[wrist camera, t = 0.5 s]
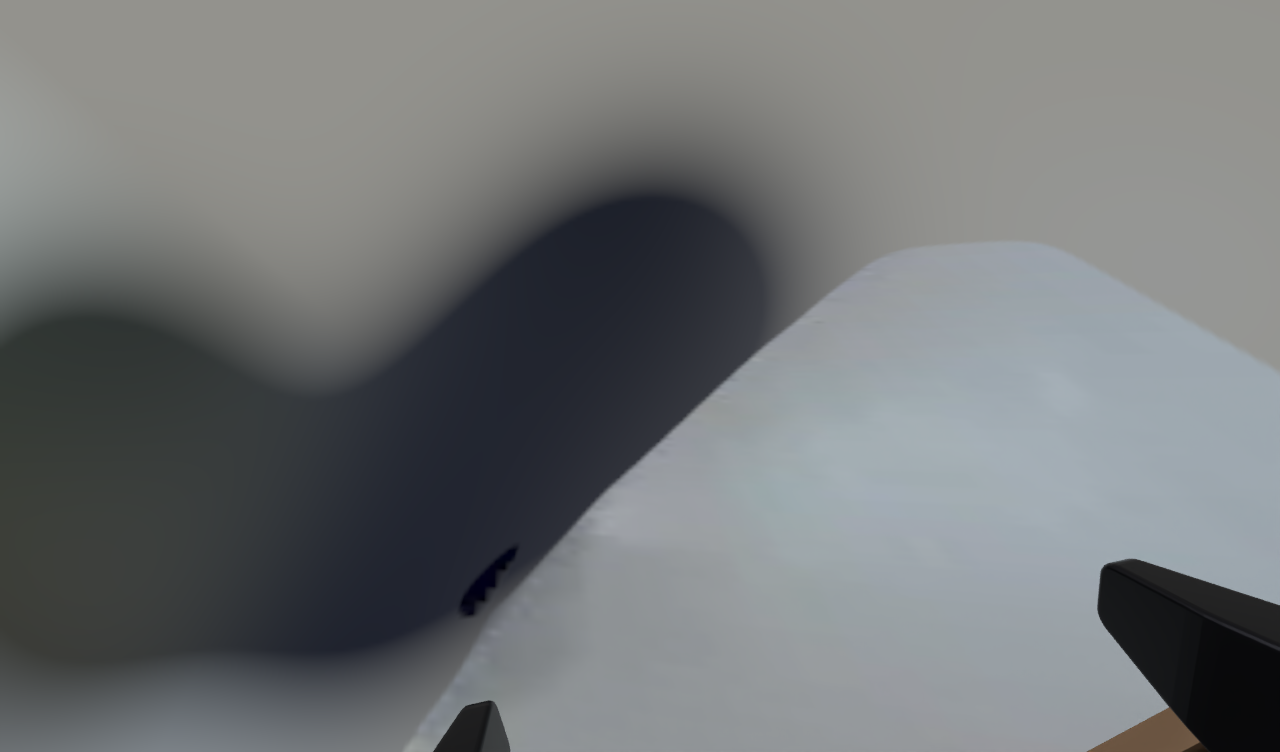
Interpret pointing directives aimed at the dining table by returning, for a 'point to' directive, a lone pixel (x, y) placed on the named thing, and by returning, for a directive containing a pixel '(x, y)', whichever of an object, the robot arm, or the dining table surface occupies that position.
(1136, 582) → the robot arm
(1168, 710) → the wooden square tray
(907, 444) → the dining table surface
